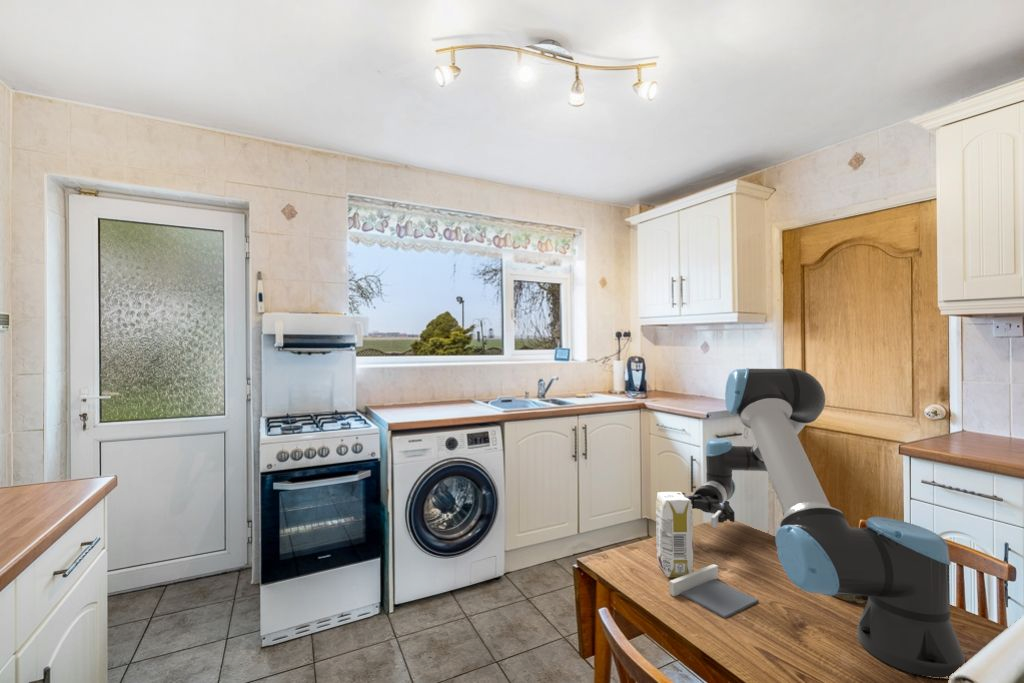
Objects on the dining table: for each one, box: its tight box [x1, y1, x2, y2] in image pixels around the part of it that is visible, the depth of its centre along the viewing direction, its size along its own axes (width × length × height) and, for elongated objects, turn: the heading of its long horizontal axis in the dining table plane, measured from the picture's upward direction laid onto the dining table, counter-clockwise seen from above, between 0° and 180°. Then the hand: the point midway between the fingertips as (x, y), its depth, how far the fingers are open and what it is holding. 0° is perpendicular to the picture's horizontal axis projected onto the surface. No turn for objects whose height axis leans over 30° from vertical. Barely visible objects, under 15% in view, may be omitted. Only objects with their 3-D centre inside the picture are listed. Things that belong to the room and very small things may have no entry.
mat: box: [680, 579, 759, 619], centre depth 106 cm, size 11×12×1 cm
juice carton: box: [655, 491, 694, 579], centre depth 119 cm, size 8×9×19 cm
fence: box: [668, 563, 719, 597], centre depth 112 cm, size 1×16×3 cm, turn 121°
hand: (686, 517), depth 126 cm, fingers open, 13 cm apart
